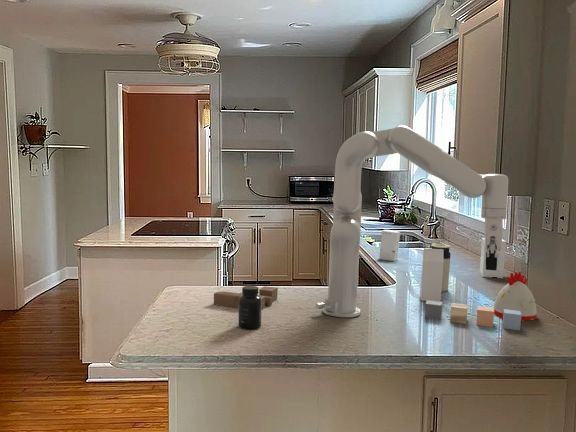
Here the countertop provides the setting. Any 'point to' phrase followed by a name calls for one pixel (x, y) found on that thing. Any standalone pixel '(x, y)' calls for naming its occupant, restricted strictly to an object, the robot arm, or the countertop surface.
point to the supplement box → (500, 262)
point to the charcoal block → (433, 310)
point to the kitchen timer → (516, 298)
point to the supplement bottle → (250, 308)
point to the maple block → (458, 313)
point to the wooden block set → (232, 299)
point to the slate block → (511, 319)
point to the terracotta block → (485, 316)
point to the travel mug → (444, 264)
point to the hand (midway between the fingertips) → (490, 267)
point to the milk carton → (432, 275)
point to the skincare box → (389, 245)
